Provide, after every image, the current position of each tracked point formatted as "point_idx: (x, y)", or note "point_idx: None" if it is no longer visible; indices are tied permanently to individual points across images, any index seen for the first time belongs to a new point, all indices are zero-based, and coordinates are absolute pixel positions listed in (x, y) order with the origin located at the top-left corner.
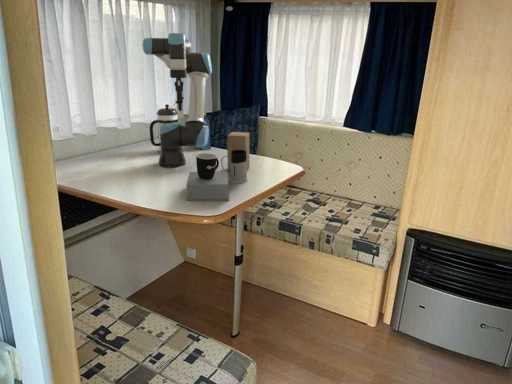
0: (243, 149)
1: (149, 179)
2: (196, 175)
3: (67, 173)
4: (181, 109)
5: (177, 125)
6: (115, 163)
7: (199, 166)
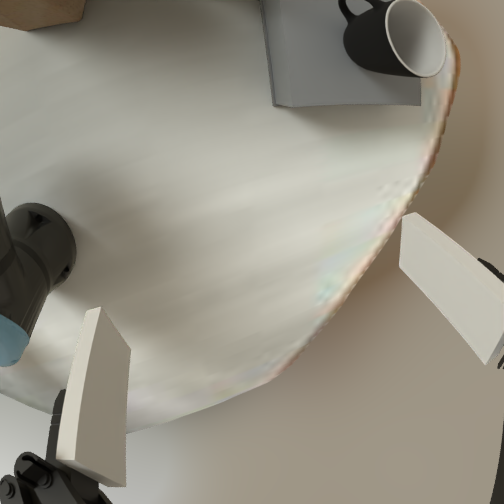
0: None
1: (210, 251)
2: (338, 77)
3: (198, 404)
4: (488, 266)
5: None
6: None
7: (417, 66)
